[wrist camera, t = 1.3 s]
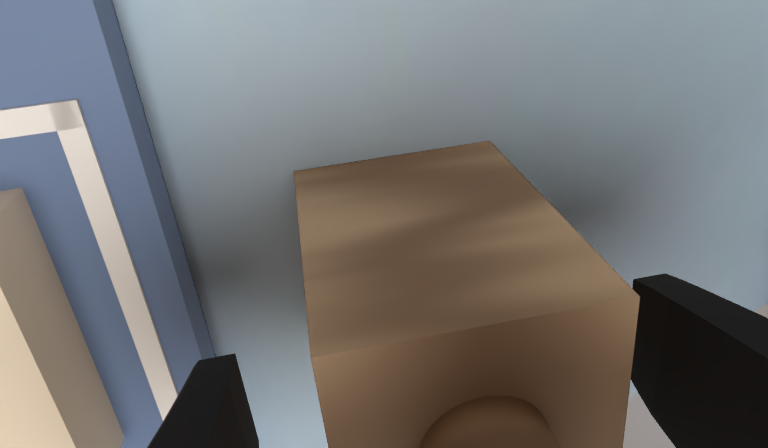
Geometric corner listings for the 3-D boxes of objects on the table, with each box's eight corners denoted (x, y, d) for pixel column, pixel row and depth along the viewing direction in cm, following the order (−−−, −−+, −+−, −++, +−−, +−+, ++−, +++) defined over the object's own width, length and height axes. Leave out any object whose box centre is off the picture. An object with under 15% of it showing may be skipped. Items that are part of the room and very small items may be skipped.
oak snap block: (489, 140, 14) (665, 323, 8) (492, 301, 16) (633, 547, 10) (293, 170, 14) (313, 390, 7) (323, 332, 16) (358, 610, 9)
